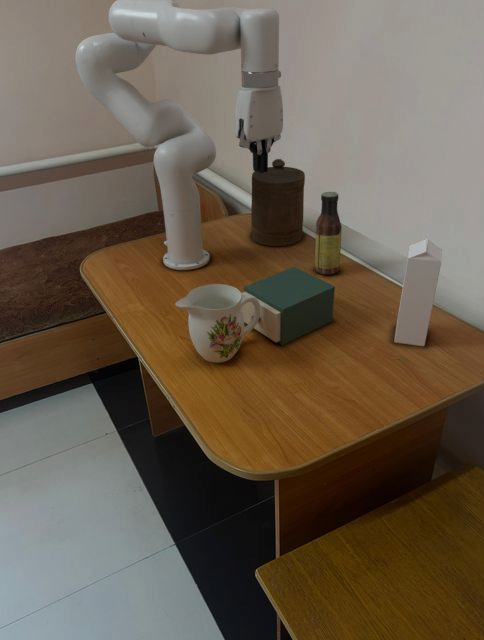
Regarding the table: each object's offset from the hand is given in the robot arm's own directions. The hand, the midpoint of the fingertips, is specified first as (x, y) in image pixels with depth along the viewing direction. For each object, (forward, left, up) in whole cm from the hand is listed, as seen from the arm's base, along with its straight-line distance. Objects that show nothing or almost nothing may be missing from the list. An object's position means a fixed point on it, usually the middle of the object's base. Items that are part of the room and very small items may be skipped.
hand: (260, 171), depth 119 cm
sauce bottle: (+7, +16, -27) cm, 32 cm away
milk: (+40, +7, -27) cm, 49 cm away
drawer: (+19, -10, -26) cm, 34 cm away
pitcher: (+19, -26, -27) cm, 42 cm away
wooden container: (-18, +21, -27) cm, 39 cm away
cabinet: (+19, -8, -27) cm, 34 cm away
